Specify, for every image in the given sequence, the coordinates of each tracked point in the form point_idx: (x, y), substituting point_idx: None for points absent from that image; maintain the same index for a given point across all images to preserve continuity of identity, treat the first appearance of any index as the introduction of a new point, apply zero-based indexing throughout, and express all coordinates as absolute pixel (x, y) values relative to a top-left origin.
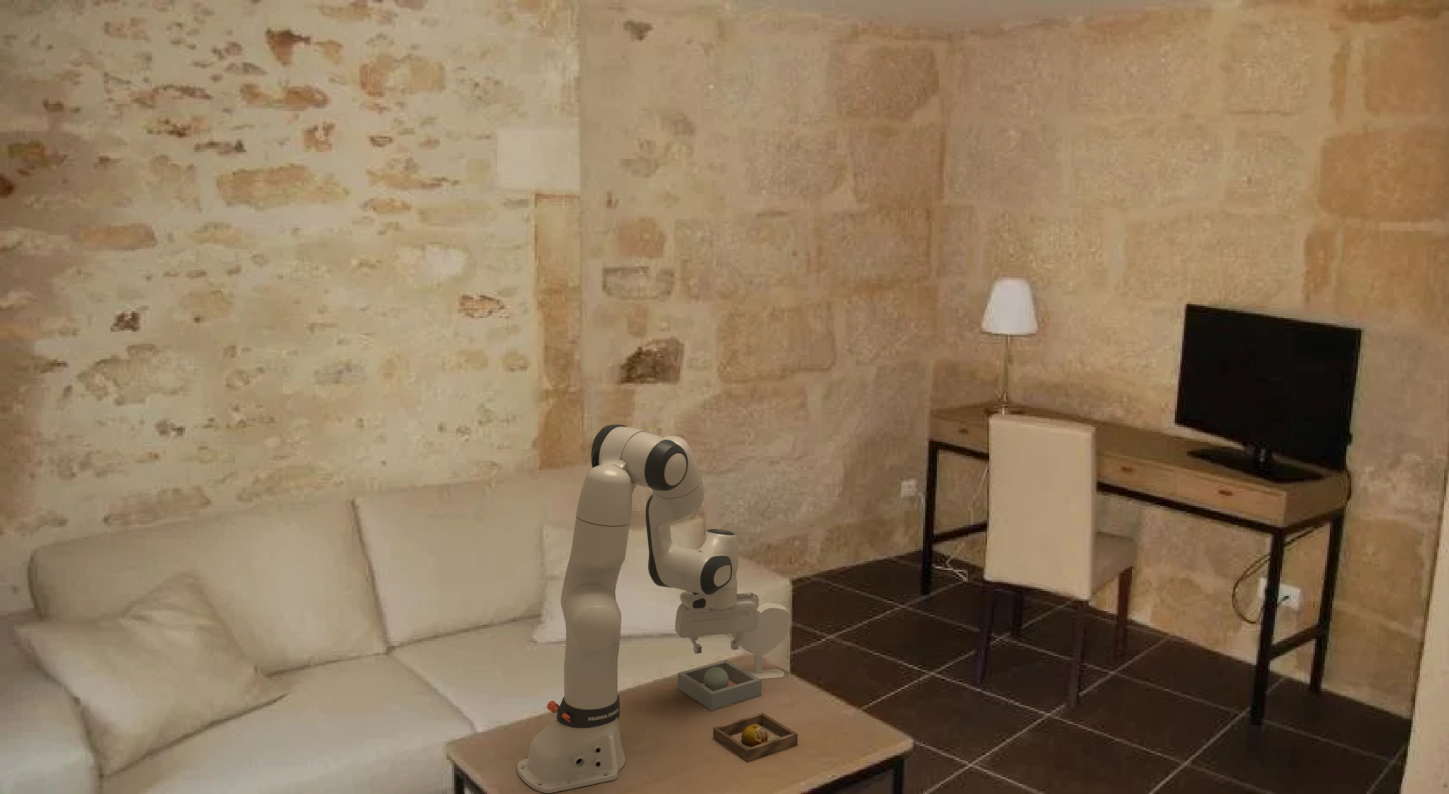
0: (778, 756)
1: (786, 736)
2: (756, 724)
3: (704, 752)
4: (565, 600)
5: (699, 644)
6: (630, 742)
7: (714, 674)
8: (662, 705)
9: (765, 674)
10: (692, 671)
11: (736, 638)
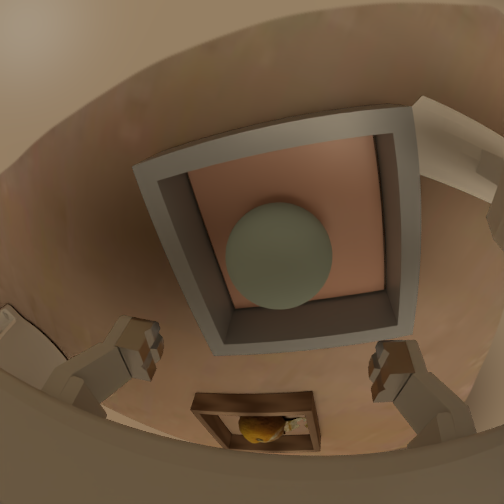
0: None
1: (299, 451)
2: (267, 438)
3: (174, 406)
4: None
5: (138, 357)
6: (69, 340)
7: (253, 302)
8: (107, 245)
9: (493, 189)
10: (194, 169)
11: (418, 400)
